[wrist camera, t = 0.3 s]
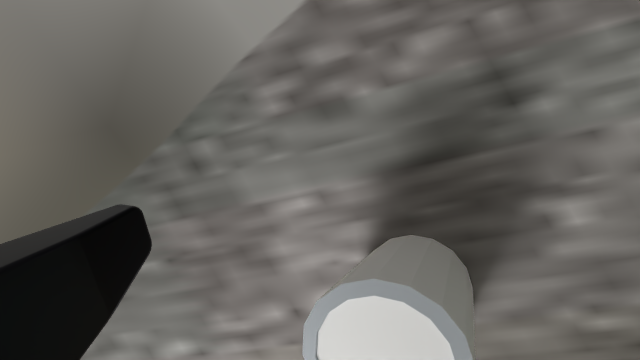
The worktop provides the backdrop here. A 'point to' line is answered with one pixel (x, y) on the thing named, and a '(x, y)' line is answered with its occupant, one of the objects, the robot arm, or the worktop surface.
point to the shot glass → (396, 307)
